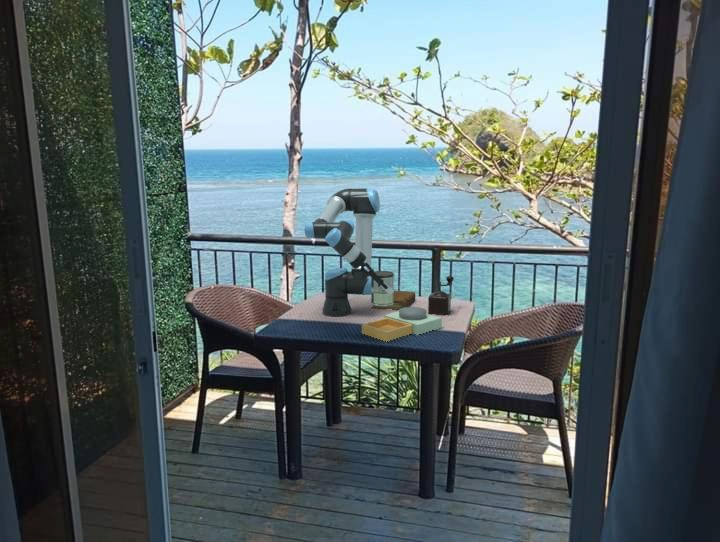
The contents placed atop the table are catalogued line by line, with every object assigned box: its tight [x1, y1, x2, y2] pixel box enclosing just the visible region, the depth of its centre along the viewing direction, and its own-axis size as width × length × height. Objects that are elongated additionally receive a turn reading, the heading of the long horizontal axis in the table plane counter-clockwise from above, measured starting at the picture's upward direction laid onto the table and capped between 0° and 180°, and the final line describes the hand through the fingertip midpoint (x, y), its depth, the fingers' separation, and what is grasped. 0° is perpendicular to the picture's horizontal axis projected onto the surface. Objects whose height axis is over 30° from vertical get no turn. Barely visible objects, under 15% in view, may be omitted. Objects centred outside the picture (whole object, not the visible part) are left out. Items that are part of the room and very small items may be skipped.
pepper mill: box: [427, 275, 455, 316], centre depth 300 cm, size 16×11×18 cm
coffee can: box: [370, 270, 395, 306], centre depth 259 cm, size 10×10×14 cm
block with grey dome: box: [383, 306, 443, 336], centre depth 274 cm, size 22×17×8 cm
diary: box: [371, 290, 416, 311], centre depth 316 cm, size 23×19×6 cm
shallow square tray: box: [361, 317, 413, 343], centre depth 264 cm, size 16×16×4 cm
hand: (389, 290), depth 260 cm, fingers closed on coffee can, 10 cm apart
